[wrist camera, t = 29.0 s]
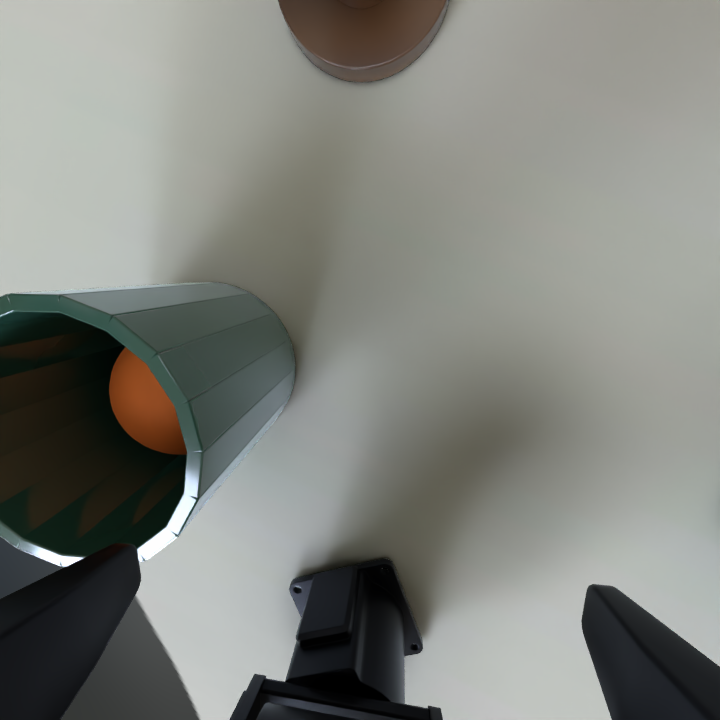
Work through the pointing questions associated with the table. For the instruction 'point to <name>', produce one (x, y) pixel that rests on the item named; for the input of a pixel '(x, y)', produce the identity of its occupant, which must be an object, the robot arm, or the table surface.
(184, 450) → the ball
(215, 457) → the green cup
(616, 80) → the table surface
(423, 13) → the ball stand
